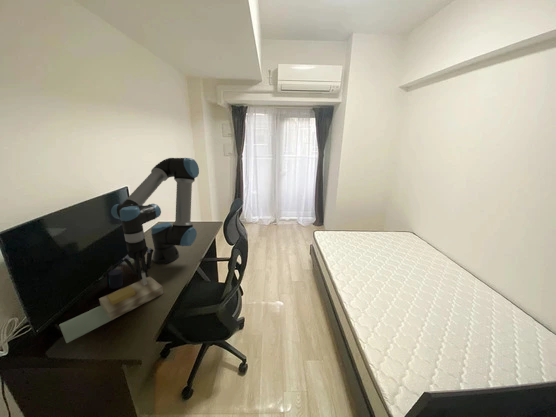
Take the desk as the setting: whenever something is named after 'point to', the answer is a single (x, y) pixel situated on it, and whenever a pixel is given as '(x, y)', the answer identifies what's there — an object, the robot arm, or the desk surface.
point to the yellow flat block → (121, 295)
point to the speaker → (114, 278)
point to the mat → (84, 323)
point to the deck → (132, 298)
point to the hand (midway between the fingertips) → (144, 283)
